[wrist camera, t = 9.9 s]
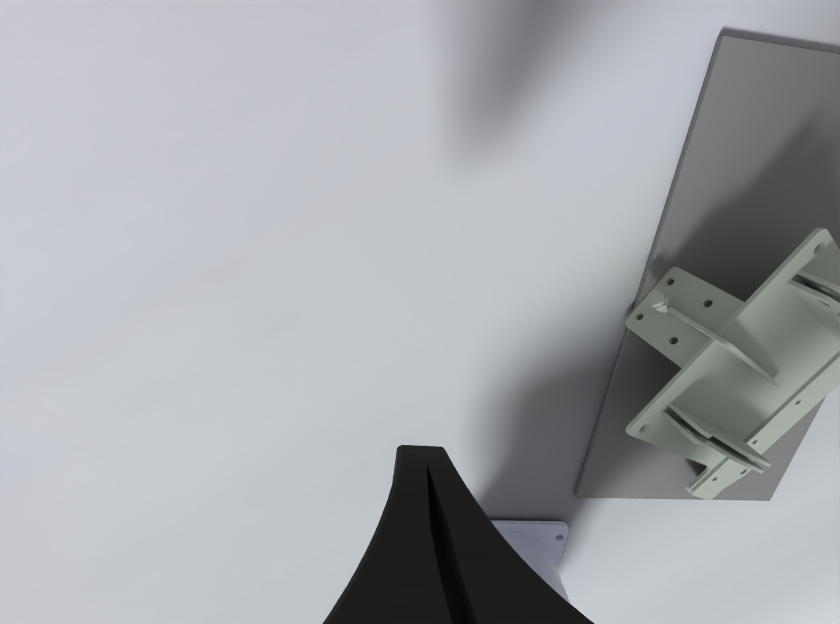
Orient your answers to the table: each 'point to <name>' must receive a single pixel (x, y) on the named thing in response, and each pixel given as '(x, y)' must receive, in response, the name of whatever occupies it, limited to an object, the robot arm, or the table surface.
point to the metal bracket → (741, 361)
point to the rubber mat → (728, 242)
